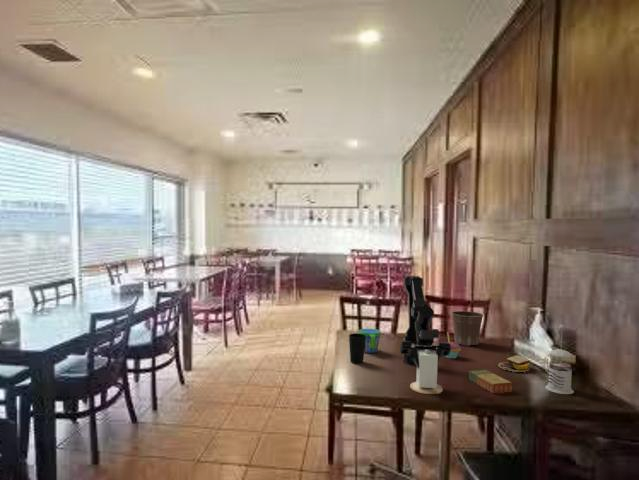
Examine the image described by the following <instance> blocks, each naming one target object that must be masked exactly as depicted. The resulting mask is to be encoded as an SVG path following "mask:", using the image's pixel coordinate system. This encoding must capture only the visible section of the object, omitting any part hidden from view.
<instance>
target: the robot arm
mask: <svg viewBox="0 0 639 480" xmlns="http://www.w3.org/2000/svg"><path fill="white" fill-rule="evenodd" d="M402 280H403V281H402V285H403V286H404V291H405V293H406V294H407V297H408V298H407V300H408V301H407V302H408V304H407V305H408V328H407V329H406V332H405V335H404V336H403V340H401V342H400V345H399V353H400V354H401V355H403V359H402V362H404V363H406V364H408V365H415V366H416V369H417V368H418V369H419V361H418V356H417V350H418V351H425V349H429V350H430V351H435V353H436V354H437V355H438V365H437V368H438V367H439V362H440V358H443V356H444V357H446V356H448V355H449V353H450V351H451V345H450V343H447V342H448V341H446V342H445V341H444V342H441V341H439V344H438V345H433V344H434V343H435V341H434V340H435V339H438V338H440V333H439V329H437V328H433V329H432V330H431V326H430V325H431V324H432V321H433V317H434V313H435V311H434V309H433V308H432V307H431V306H430V305H429V302H428V301H426V300H425V296H424V292H423V291H424V290H423V287H424V278H423V277H420V275H405V277H403V279H402Z"/></svg>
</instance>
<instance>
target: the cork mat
mask: <svg viewBox="0 0 639 480" xmlns="http://www.w3.org/2000/svg"><path fill="white" fill-rule="evenodd" d="M409 388H410V389H411V390H412V391H414V392H416V393H419V394H423V395H437V394H441V393H442V392H443V390H444V389H443V386H441V385H440V384H438V383H437V388H423V387H419V386H418V384H417V382H416V381H414V382H411V383H410V385H409Z"/></svg>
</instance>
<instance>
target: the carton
mask: <svg viewBox="0 0 639 480" xmlns="http://www.w3.org/2000/svg"><path fill="white" fill-rule="evenodd" d="M468 379H469V381H470V380H471V381H470V382H472V381H473V382H472V383H474V382H475V383H476V384H475V383H474V384H475V385H477V384H478V385H477V386H479V385H480V386H481V388H482V387H483V388H482V389H484V388H485V389H487V390H488V392H489V391H490V392H489V393H491V392H492V393H498V394H505V393H504V392H511V393H513V390H512V389H513V383H512V381H510V380H507V379H506V378H504V377H502V376H500V375H498V374H496V373H494V372H493V371H490V370H488V369H480V370H479V369H478V370H477V369H476V370H469V371H468ZM480 386H479V387H480ZM485 389H484V390H485ZM487 390H486V391H487ZM492 393H491V394H492Z"/></svg>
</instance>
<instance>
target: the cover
mask: <svg viewBox="0 0 639 480" xmlns="http://www.w3.org/2000/svg"><path fill="white" fill-rule="evenodd" d="M417 356H418V361H419V369H418V368H417V367H416V377H415V378H416V380H415V382H417V384H418V386H419V387H423V388H437V384H438V367H437V365H438V366H439V363H438V355H437V354H436V352H435V351H430V350H429V349H425V351H424V350H421V351H418V350H417Z"/></svg>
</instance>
